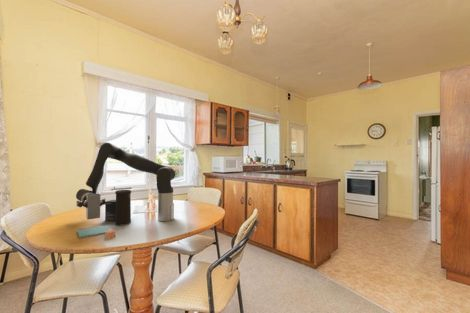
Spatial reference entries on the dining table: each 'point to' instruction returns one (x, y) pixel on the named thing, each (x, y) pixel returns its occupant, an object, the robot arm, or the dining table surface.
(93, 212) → the gray rectangular block
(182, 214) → the dining table surface
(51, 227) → the dining table surface
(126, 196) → the container
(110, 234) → the block
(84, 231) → the teal board
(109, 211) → the small box
